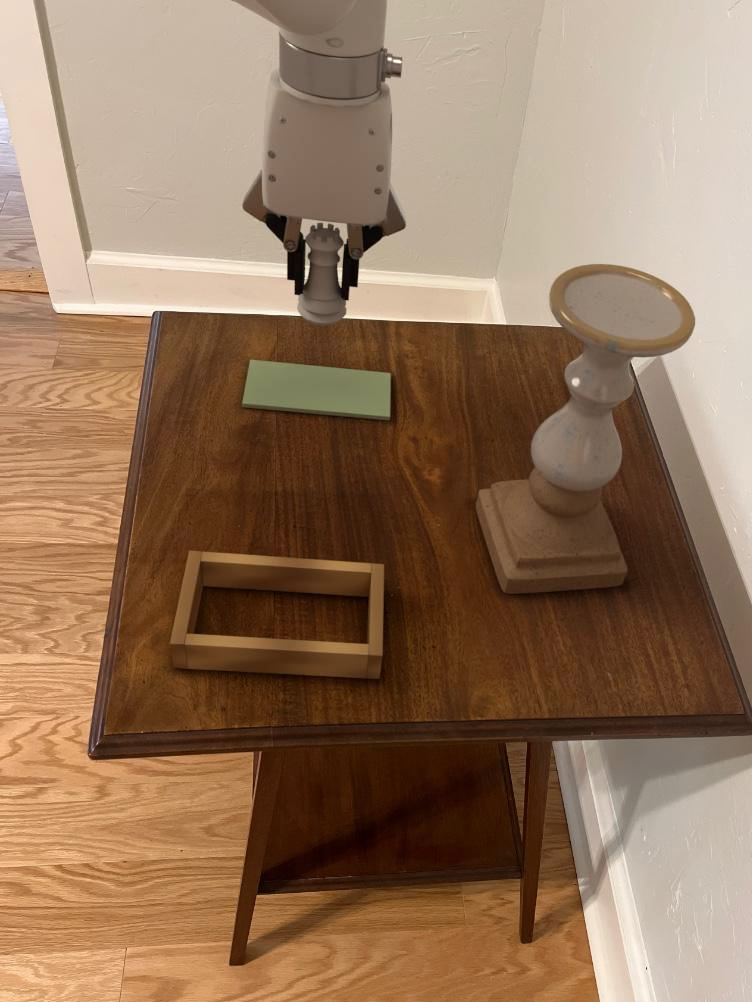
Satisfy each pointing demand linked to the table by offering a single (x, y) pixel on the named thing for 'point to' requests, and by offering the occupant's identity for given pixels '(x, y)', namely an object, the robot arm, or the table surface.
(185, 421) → the table surface
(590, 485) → the candle holder
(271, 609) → the table surface
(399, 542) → the table surface
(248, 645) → the rectangular wooden frame
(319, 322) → the rook chess piece
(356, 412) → the mat
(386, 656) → the table surface
